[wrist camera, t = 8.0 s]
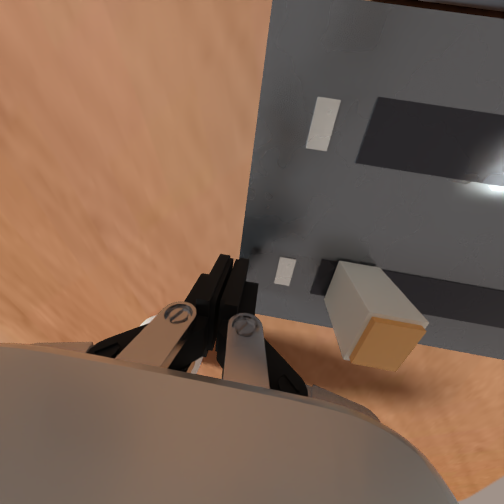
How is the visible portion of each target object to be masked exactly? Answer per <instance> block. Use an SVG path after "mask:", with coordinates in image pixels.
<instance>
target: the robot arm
mask: <svg viewBox="0 0 504 504" xmlns="http://www.w3.org/2000/svg"><path fill="white" fill-rule="evenodd" d="M248 266H249V259H247V258H241V257H240V259H239V260H238V259H236V261H235V263H234V266H233V259H232V258H230V255H224V254H220V256H219V258H218V259H217V261H216V263H215V265H214V267H213V269H212V270H211V272H210V274H204V273H202V274H201V275H200V277H199V278H198V280H197V282H196V283H195V285H194V286H193V288H192V290H191V291H190V293H189V295H188V296H187V298H186V300H185V301H184V302H174V303H171V304H169V305H167V306H166V307H165V308H163V309H162V310H161V311H160V312H159V313H158V315H157V316H156V317H155V318H154V319H153V320H152V321H151V322H150V323H148V324H145V325H142V326H140V327H137V328H134V329H132V330H129V331H126V332H124V333H121V334H118V335H116V336H113V337H110V338H107V339H105V340H103V341H101V342H99V343H97V344H96V345H93V342H61V343H35V344H17V343H0V504H459V503H458V502H457V500H456V498H455V497H454V495H453V493H452V492H451V490H450V489H449V487H448V486H447V484H446V483H445V481H444V480H443V478H442V477H441V475H440V474H439V473H438V471H437V470H436V469H435V467H434V466H433V465H432V464H431V462H430V461H429V460H428V459H427V458H426V456H425V455H424V454H423V453H421V452H420V451H419V450H418V449H417V448H416V447H415V446H414V445H413V444H411V443H410V442H409V441H408V440H406V439H405V438H404V437H402V436H401V435H400V434H398V433H397V432H395V431H394V430H392V429H390V428H389V427H387V426H385V425H384V424H382V423H381V422H380V421H379V419H378V418H377V416H375V415H374V414H373V413H372V412H371V411H370V410H369V409H367V408H366V407H364V406H362V405H360V404H357V403H355V402H353V401H350V400H348V399H346V398H343V397H341V396H339V395H336V394H334V393H332V392H330V391H327V390H325V389H323V388H320V387H318V386H316V385H313V386H312V387H311V386H308V385H306V384H305V383H304V381H303V380H302V378H301V377H300V376H299V375H298V374H297V373H296V372H295V371H294V370H293V368H292V367H291V366H290V365H289V364H288V363H287V362H286V361H285V360H284V359H283V358H282V357H281V356H280V355H279V353H278V352H277V351H276V350H275V349H274V348H273V347H272V346H271V345H270V344H269V343H268V342H267V341H266V340H265V338H264V335H263V327H262V323H261V322H260V320H259V319H258V318H257V317H255V309H256V301H257V293H258V285H259V283H254V282H248V281H246V279H247V272H248ZM232 268H233V269H232ZM216 338H217V339H216ZM215 341H216V350H215V351H216V352H217V361H218V362H219V364H220V366H221V367H222V369H223V370H222V379H218V378H213V377H208V376H203V375H197V374H192V373H191V371H192V369H193V367H194V365H195V361H196V360H198V359H199V358H201V357H206V356H207V353H208V350H211V351H212V350H213V347H214V344H215Z"/></svg>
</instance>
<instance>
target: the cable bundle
mask: <svg viewBox="0 0 504 504" xmlns="http://www.w3.org/2000/svg"><path fill="white" fill-rule="evenodd" d="M420 1H427V2H435V3H442V4H450V5H457V6H465V7H473V8H480V9H488V10H495V11H503V12H504V0H420Z"/></svg>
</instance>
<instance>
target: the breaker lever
mask: <svg viewBox="0 0 504 504" xmlns="http://www.w3.org/2000/svg"><path fill="white" fill-rule="evenodd" d="M324 301H325V304H326V308H327V311H328V314H329V317H330V320H331V323H332V326H333V329H334V332H335V335H336V338H337V341H338V345H339V348H340V351H341V354H342V357H343V359H344V360H349V361H351V363H352V364H357V365H362V366H367V367H372V368H378V369H383V370H388V371H393V372H396V371H397V370H398V368H399V367H400V366H401V364H402V363H403V362H404V361H405V359H406V358H407V357H408V355H409V354H410V353H411V351H412V350H413V349H414V348H415V346H416V345H417V344H418V342H419V341H420V340H421V338H422V337H423V336H424V334H425V333H426V332H427V331H426V330H425V328H426V327H427V326H428V324H429V322H428V321H427V320H426V318H425V317H424V316H423V315H422V314H421V313H420V312H419V311H418V310H417V308H416V307H415V306H414V305H413V304H412V303H411V302H410V301H409V300H408V298H407V297H406V296H405V295H404V294H403V293H402V292H401V291H400V289H399V288H398V287H397V286H396V285H395V284H394V283H393V282H392V281H391V279H390V278H389V277H388V276H387V275H386V274H385V273H384V272H383V271H382V269H381V268H379V267H373V266H368V265H362V264H356V263H351V262H345V261H339V262H338V265H337V267H336V270H335V273H334V275H333V278H332V280H331V283H330V285H329V288H328V290H327V293H326V295H325V298H324Z"/></svg>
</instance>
